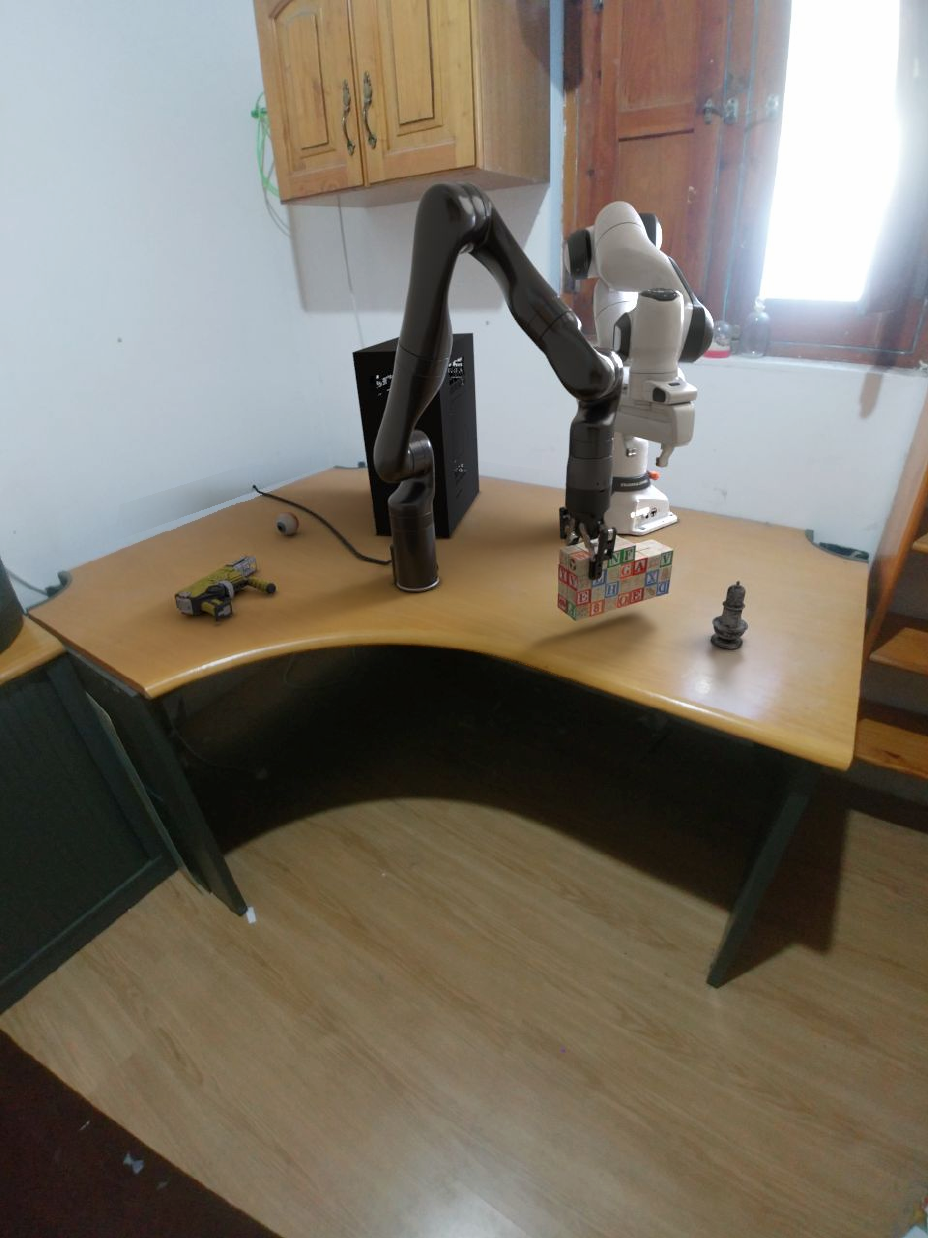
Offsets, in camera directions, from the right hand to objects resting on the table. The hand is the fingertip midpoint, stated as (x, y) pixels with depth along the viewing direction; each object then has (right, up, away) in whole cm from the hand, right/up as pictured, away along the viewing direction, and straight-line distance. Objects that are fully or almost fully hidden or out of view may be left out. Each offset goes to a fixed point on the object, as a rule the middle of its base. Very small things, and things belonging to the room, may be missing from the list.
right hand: (645, 461), depth 119 cm
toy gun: (-86, -26, +15) cm, 91 cm away
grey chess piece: (+11, -35, -11) cm, 39 cm away
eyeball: (-84, -8, +46) cm, 96 cm away
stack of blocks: (-7, -28, -4) cm, 29 cm away
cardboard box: (-45, 0, +56) cm, 72 cm away
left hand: (-14, -23, -11) cm, 29 cm away
